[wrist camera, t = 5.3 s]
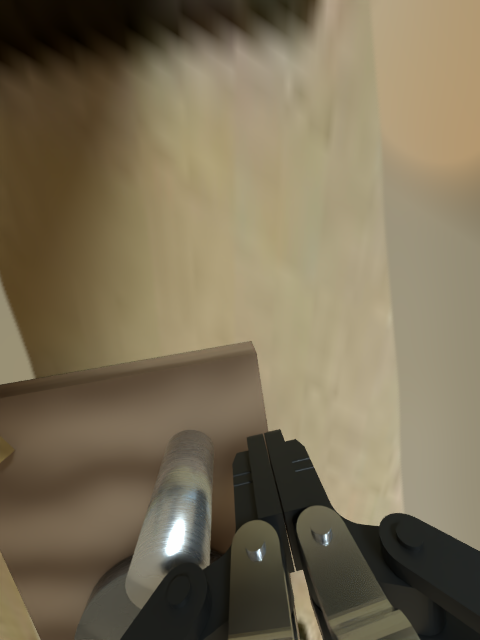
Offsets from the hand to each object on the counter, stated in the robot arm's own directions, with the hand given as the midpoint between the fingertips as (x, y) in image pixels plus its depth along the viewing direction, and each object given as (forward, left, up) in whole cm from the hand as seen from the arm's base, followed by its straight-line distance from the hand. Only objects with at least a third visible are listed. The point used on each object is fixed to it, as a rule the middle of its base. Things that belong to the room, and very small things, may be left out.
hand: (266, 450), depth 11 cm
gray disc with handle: (+10, -6, -4) cm, 13 cm away
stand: (+10, -8, -7) cm, 15 cm away
